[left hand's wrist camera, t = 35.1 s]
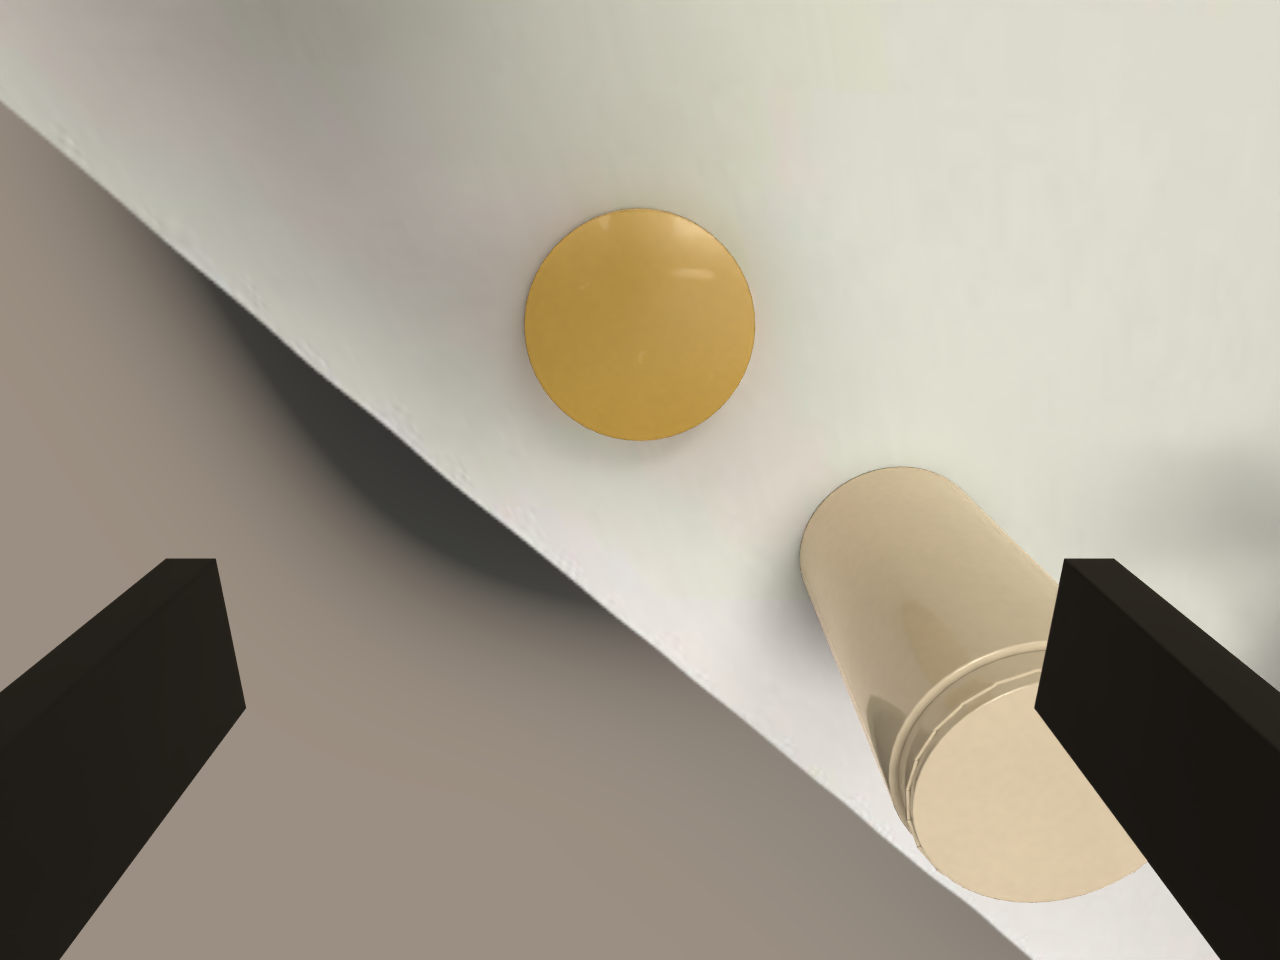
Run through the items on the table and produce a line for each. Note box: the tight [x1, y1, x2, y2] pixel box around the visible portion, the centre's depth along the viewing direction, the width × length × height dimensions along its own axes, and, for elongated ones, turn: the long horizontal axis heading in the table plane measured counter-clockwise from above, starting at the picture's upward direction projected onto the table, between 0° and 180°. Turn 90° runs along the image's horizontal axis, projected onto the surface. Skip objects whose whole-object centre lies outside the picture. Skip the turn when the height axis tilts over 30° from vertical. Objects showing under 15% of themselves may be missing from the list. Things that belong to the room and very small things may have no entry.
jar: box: [800, 467, 1148, 903], centre depth 36 cm, size 10×10×19 cm
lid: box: [525, 208, 755, 441], centre depth 40 cm, size 11×11×2 cm
